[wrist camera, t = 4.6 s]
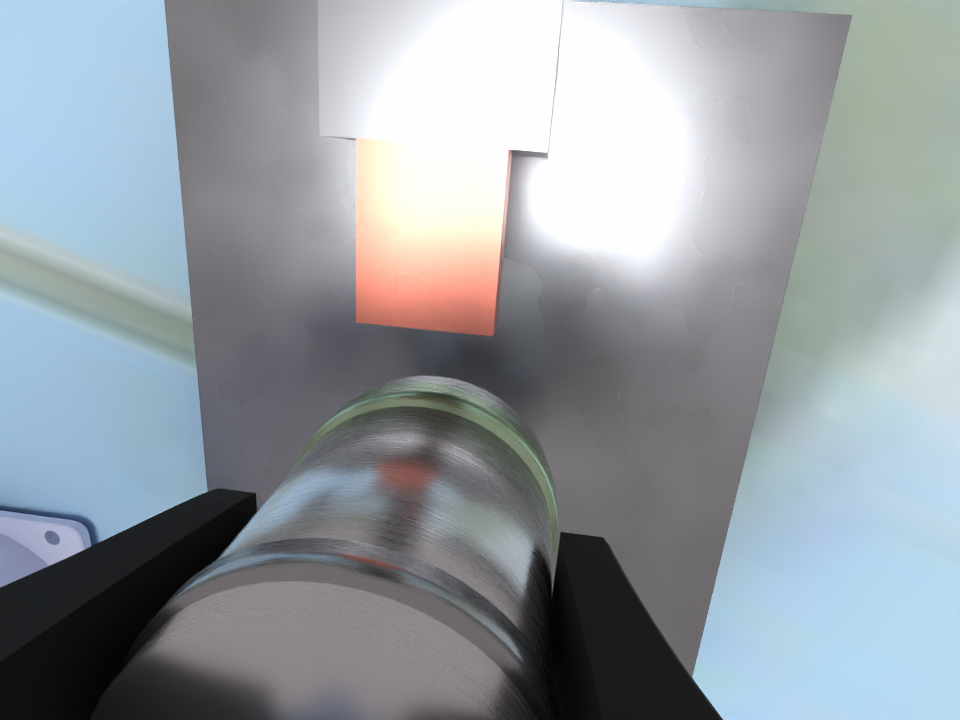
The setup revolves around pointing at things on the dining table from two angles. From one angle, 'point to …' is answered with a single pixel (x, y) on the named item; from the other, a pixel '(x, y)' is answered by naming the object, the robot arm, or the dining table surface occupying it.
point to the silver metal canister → (372, 579)
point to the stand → (505, 238)
